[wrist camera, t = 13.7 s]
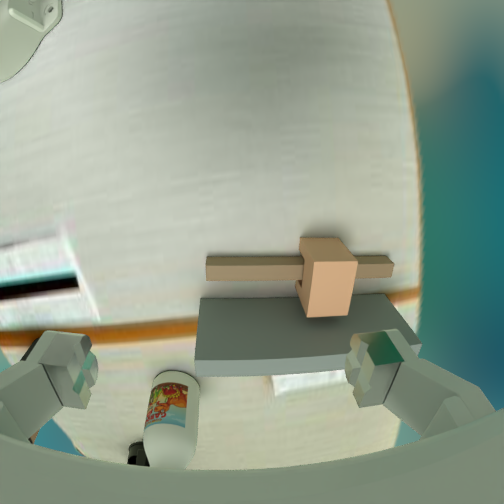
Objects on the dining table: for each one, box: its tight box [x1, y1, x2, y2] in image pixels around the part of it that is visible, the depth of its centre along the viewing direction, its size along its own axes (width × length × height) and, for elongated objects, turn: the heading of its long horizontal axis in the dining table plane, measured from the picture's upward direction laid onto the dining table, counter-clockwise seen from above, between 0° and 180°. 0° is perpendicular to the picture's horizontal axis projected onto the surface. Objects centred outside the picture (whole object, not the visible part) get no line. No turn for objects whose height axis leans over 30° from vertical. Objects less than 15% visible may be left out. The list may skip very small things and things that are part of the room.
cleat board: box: [194, 256, 422, 377], centre depth 37 cm, size 8×26×12 cm, turn 88°
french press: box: [127, 442, 150, 467], centre depth 46 cm, size 12×9×23 cm
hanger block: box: [295, 237, 358, 317], centre depth 38 cm, size 7×5×7 cm
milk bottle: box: [143, 371, 200, 469], centre depth 39 cm, size 8×8×20 cm
